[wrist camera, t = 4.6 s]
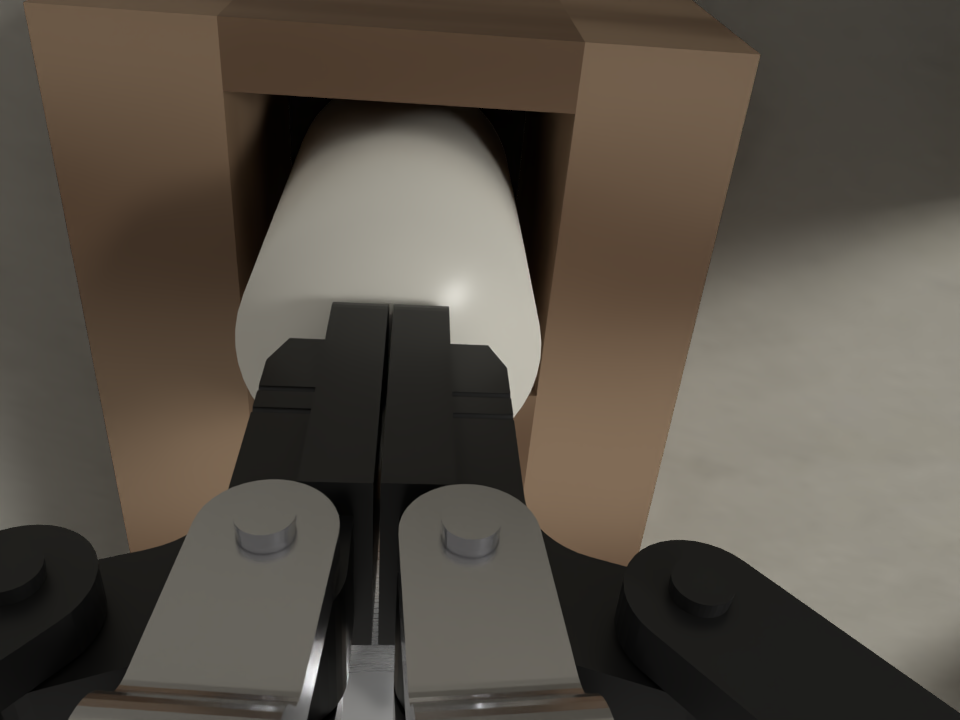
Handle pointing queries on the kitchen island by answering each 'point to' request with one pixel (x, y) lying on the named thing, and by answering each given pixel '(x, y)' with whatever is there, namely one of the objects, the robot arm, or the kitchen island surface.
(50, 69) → the wooden compartment box
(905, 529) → the kitchen island surface
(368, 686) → the knob middle
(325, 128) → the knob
